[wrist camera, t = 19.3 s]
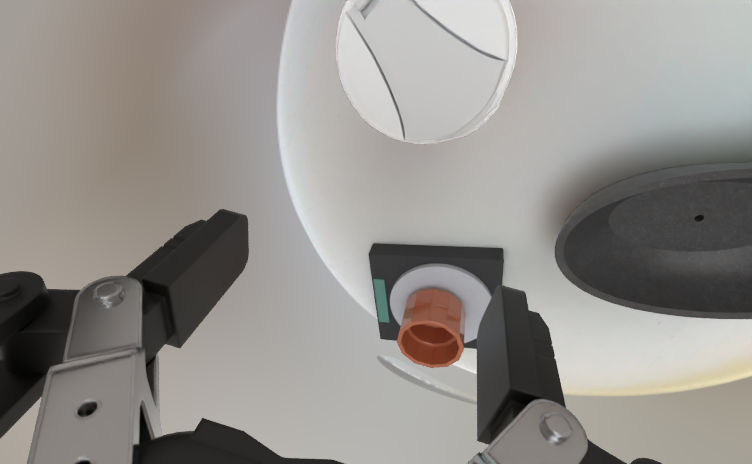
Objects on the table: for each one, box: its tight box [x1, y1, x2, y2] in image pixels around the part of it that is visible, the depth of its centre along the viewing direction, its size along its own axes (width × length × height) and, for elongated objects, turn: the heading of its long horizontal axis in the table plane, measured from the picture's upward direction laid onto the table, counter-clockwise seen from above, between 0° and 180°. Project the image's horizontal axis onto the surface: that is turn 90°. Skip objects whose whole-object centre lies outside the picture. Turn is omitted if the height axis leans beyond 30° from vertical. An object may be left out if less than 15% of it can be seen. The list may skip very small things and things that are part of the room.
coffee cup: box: [336, 0, 517, 144], centre depth 23 cm, size 8×8×15 cm
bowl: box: [555, 162, 752, 319], centre depth 29 cm, size 12×22×6 cm, turn 97°
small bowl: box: [397, 288, 466, 368], centre depth 38 cm, size 6×6×5 cm
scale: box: [369, 244, 504, 349], centre depth 41 cm, size 13×12×3 cm
